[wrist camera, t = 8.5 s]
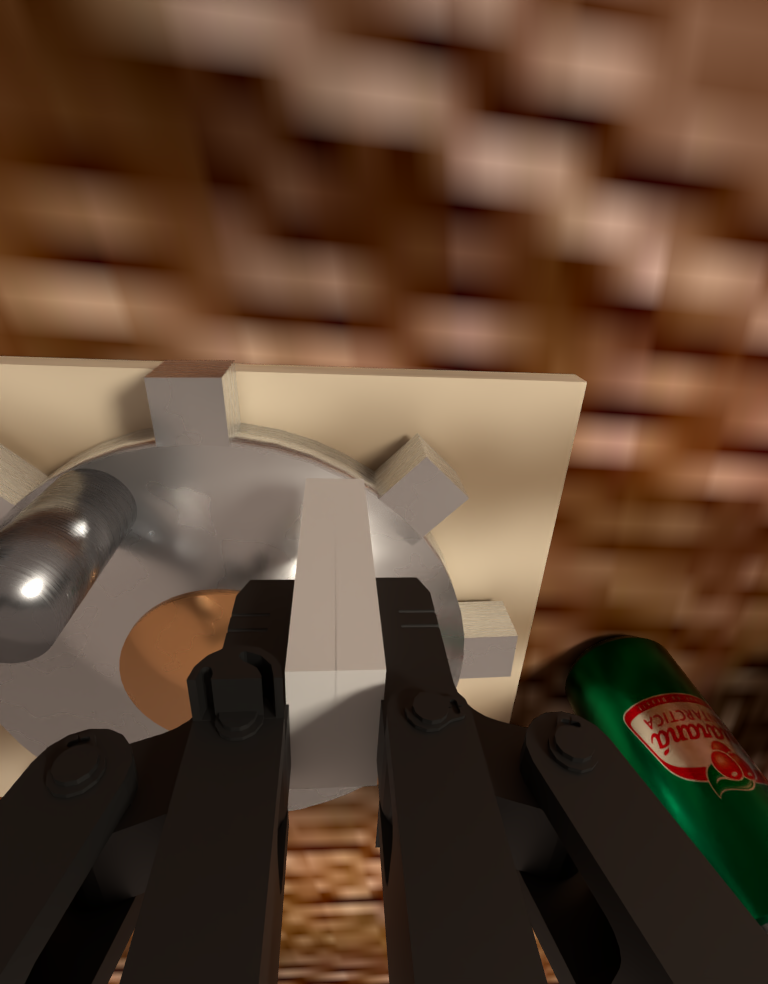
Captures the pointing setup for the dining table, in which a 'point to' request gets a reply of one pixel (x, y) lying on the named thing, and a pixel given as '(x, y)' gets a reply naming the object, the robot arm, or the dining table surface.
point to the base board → (364, 437)
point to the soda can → (680, 756)
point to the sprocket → (191, 559)
